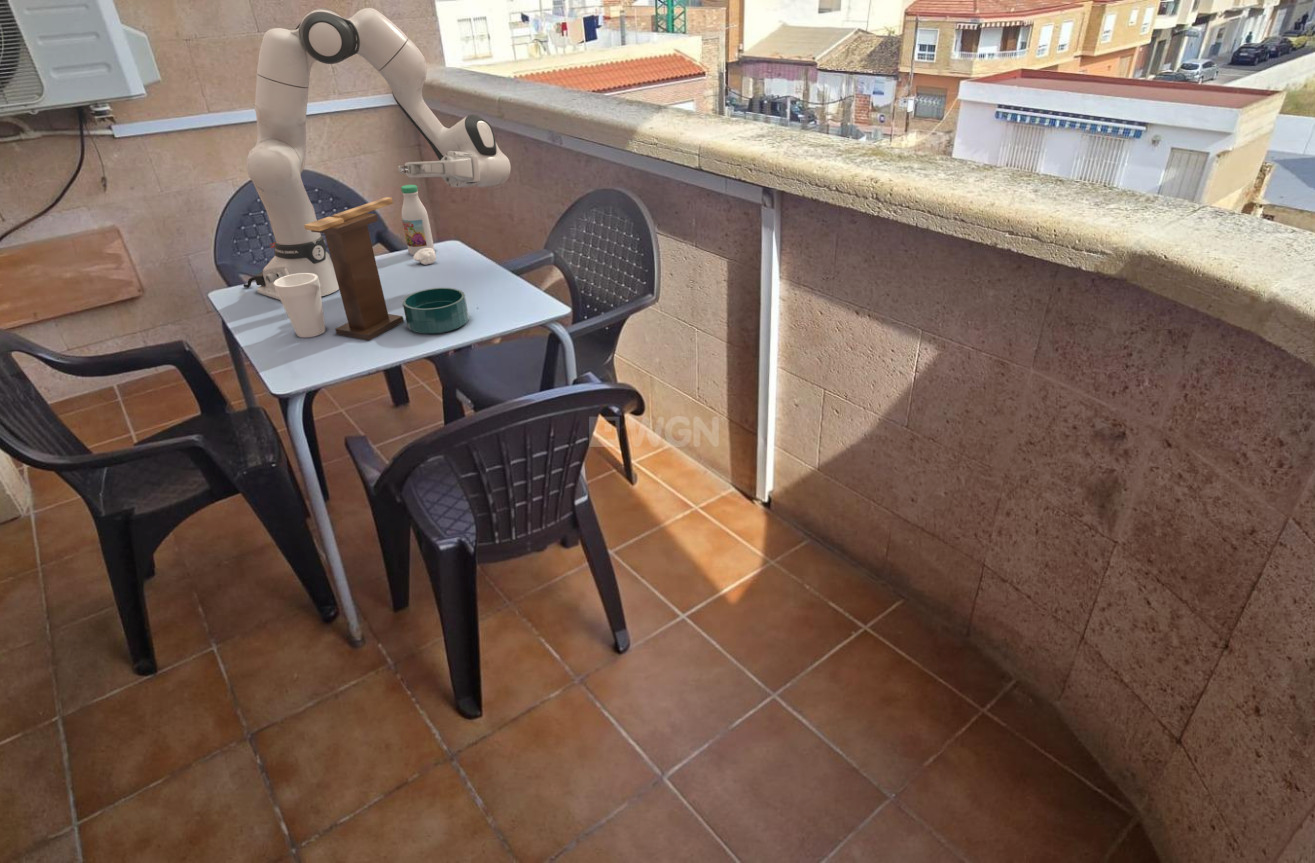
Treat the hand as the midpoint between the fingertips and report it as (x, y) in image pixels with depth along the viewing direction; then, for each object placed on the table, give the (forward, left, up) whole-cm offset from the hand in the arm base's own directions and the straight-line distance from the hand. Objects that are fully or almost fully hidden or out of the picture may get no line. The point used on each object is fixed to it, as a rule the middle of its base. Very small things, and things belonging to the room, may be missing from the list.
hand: (411, 168), depth 179 cm
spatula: (+1, -22, -6) cm, 23 cm away
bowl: (+15, -17, -32) cm, 39 cm away
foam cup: (-11, -32, -32) cm, 47 cm away
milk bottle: (-27, +28, -32) cm, 51 cm away
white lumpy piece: (-19, +20, -32) cm, 42 cm away
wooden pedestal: (+1, -25, -32) cm, 41 cm away
